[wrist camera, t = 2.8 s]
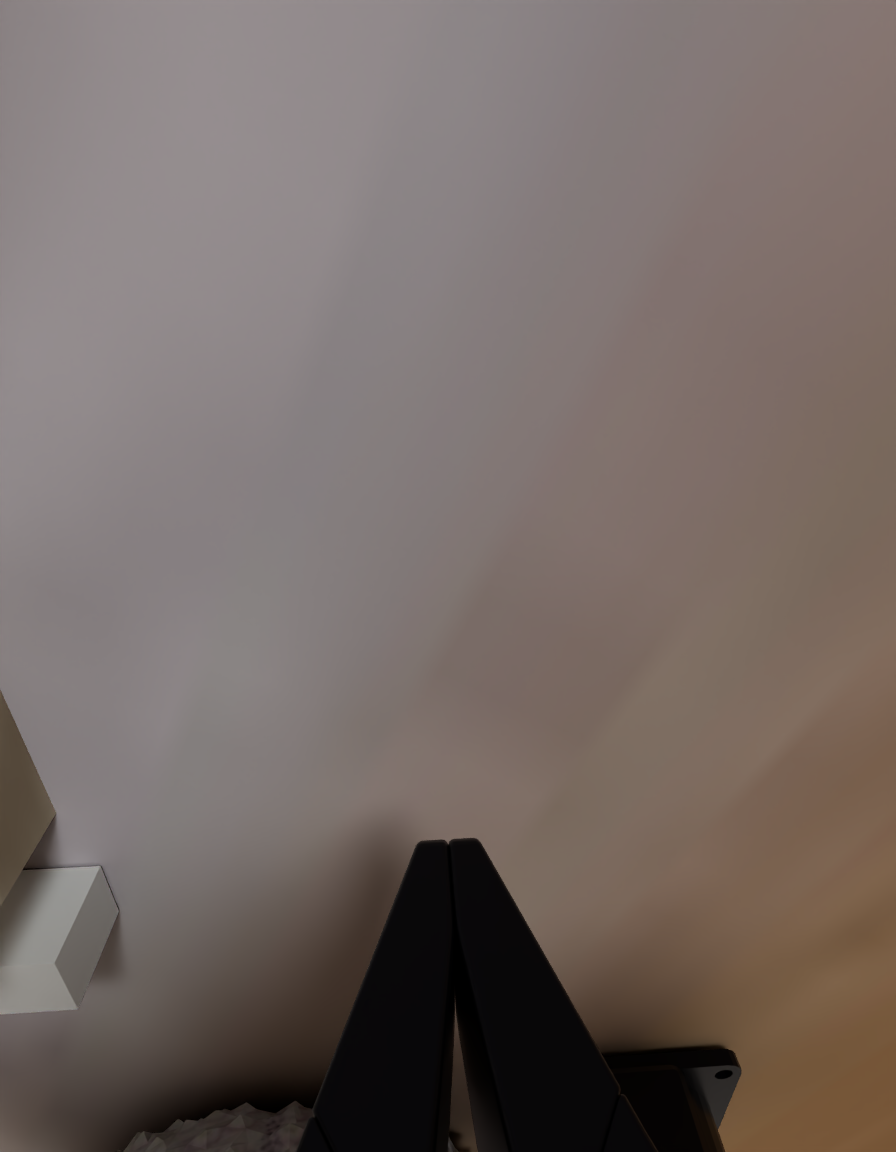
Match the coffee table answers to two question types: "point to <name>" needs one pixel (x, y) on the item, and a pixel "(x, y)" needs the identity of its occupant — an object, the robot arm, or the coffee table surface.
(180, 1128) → the sea urchin shell
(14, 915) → the channel
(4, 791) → the birch block
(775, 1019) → the coffee table surface
